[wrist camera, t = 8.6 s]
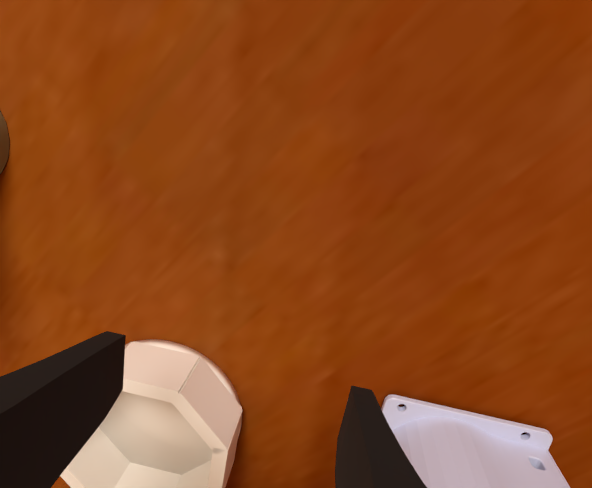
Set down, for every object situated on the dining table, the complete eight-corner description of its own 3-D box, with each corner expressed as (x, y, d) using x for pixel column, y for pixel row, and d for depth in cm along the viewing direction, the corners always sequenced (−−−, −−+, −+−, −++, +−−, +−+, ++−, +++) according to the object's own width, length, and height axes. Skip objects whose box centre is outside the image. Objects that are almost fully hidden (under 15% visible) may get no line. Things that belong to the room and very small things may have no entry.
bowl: (252, 359, 25) (235, 404, 21) (231, 485, 28) (213, 544, 24) (93, 323, 25) (48, 360, 21) (90, 450, 28) (50, 502, 25)
